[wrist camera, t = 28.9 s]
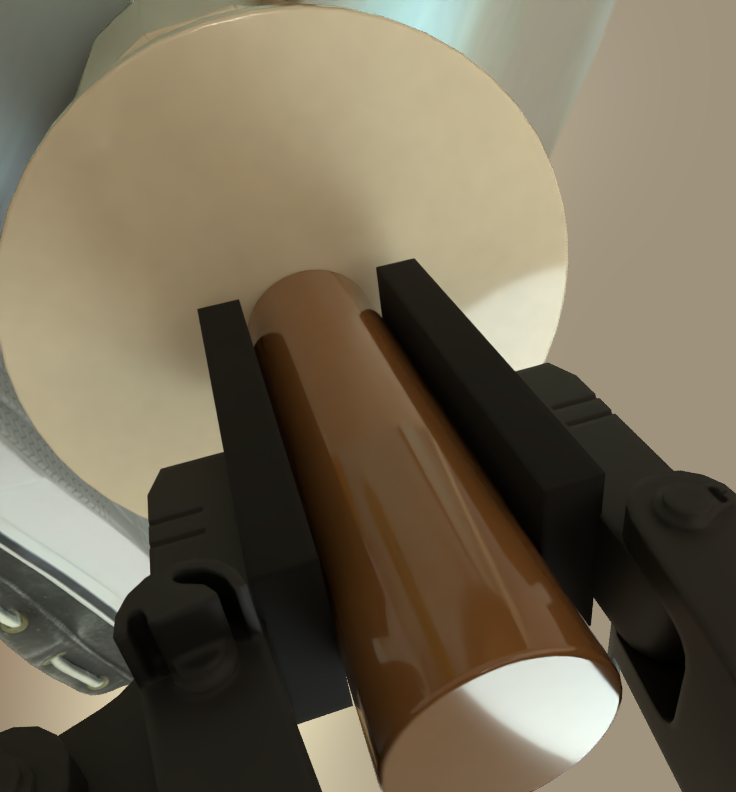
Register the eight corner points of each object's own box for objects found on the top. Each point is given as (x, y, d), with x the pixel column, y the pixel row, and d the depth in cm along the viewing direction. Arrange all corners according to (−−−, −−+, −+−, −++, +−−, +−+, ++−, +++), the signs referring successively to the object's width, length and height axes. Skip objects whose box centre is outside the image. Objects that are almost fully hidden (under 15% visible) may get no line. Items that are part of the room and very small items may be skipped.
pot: (14, 116, 26) (-54, 225, 16) (224, -90, 24) (289, -107, 15) (215, 303, 32) (253, 464, 22) (393, 146, 30) (519, 245, 21)
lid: (-141, 301, 13) (-636, 974, 4) (343, -169, 11) (972, -481, 3) (275, 575, 19) (386, 1052, 11) (617, 306, 18) (1049, 630, 9)
